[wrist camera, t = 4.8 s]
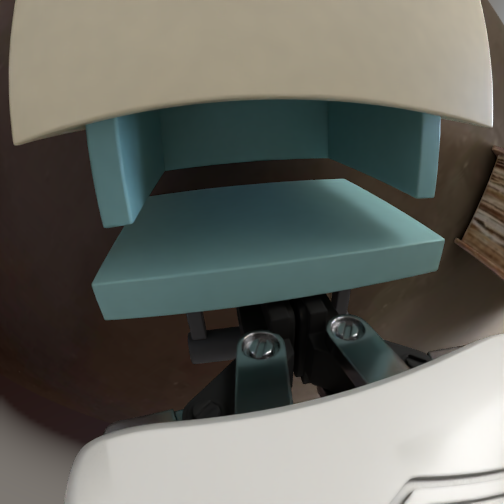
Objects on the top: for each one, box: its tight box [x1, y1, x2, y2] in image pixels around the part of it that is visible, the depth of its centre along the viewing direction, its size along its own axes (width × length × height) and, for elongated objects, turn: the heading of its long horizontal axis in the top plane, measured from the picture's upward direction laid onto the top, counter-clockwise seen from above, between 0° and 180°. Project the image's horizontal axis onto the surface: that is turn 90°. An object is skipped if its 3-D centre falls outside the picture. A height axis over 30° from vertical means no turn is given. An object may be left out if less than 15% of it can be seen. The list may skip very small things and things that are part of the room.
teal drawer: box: [85, 99, 445, 364], centre depth 9 cm, size 17×10×8 cm, turn 3°
